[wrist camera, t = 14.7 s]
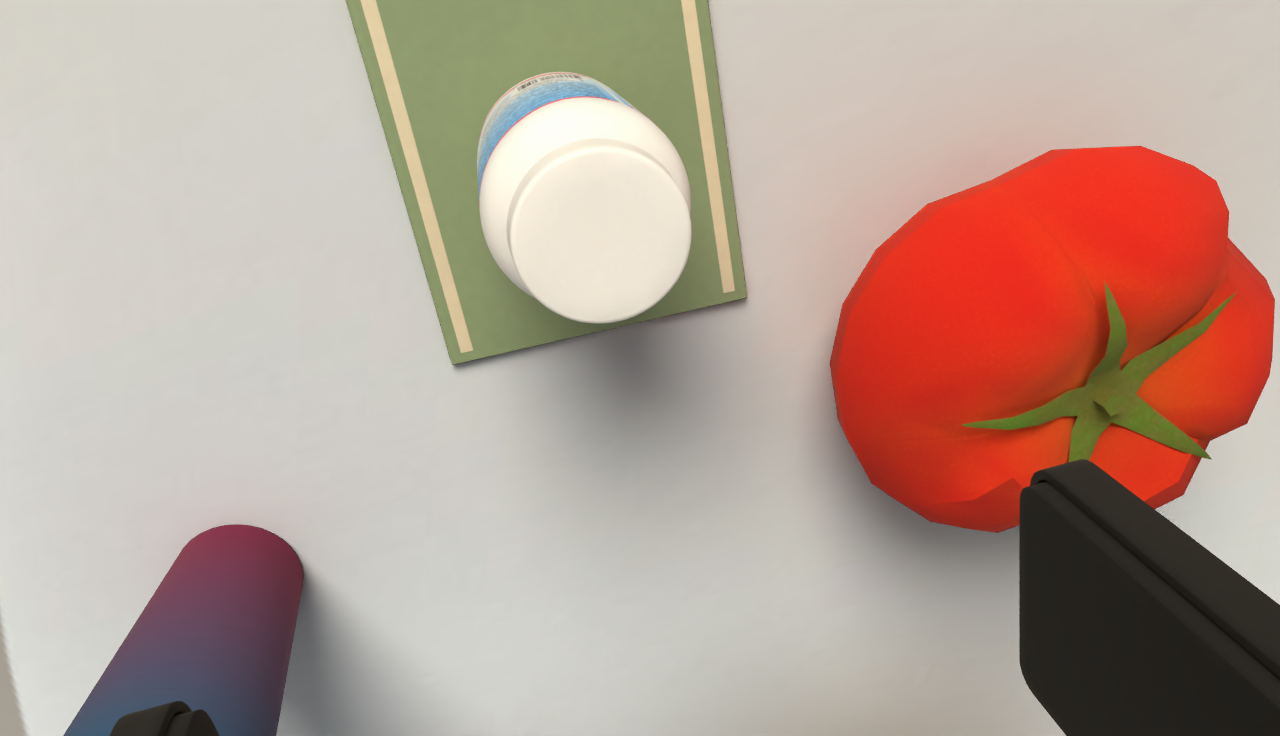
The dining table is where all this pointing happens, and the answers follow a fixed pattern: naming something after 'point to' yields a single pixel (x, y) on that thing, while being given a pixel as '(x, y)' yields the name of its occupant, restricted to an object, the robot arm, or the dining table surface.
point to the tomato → (1052, 336)
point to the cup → (209, 637)
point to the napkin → (471, 85)
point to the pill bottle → (582, 198)
